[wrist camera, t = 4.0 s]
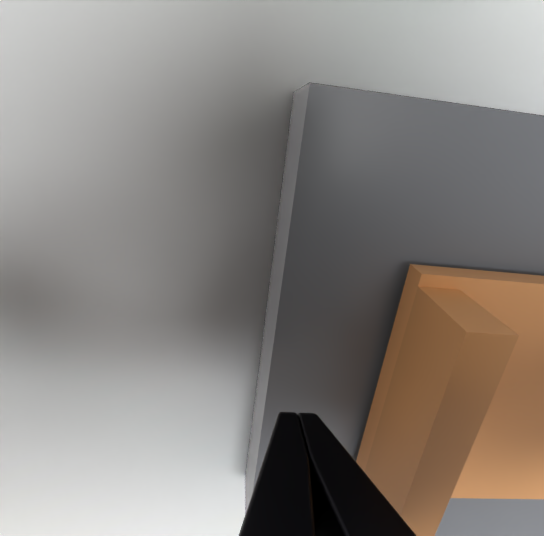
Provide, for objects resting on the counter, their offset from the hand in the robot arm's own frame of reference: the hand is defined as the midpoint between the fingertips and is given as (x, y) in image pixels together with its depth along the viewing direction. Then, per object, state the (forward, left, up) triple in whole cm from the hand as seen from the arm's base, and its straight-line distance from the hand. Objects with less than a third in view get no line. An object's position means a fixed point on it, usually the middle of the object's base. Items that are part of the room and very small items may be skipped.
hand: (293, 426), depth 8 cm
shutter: (+6, 0, -2) cm, 6 cm away
